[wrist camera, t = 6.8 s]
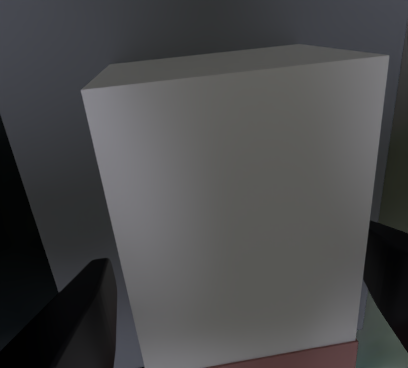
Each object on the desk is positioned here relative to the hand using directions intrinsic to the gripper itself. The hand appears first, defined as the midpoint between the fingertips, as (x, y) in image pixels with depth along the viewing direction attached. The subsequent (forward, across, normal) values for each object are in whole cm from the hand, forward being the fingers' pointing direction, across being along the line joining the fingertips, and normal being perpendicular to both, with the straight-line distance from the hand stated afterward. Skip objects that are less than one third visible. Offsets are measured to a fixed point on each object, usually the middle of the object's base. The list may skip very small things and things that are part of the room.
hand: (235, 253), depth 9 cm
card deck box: (+2, 0, 0) cm, 3 cm away
